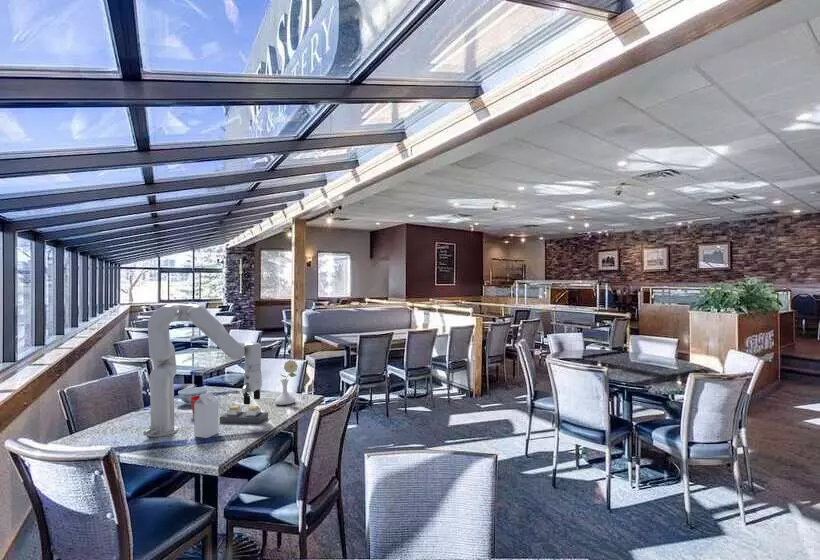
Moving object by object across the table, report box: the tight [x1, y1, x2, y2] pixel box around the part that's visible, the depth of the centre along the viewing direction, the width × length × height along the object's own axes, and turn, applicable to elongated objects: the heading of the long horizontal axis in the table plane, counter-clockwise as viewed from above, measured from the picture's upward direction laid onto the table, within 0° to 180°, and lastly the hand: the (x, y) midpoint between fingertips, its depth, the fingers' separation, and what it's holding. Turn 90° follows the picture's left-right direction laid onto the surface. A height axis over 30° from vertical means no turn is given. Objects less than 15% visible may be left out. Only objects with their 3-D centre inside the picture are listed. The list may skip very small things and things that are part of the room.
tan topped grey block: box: [226, 405, 243, 416], centre depth 213 cm, size 5×5×7 cm
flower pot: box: [190, 395, 200, 417], centre depth 222 cm, size 11×11×10 cm
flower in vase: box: [274, 359, 299, 406], centre depth 242 cm, size 13×11×25 cm
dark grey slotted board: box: [219, 411, 269, 425], centre depth 212 cm, size 9×21×3 cm, turn 82°
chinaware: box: [177, 386, 208, 406], centre depth 245 cm, size 15×15×8 cm
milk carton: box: [193, 391, 220, 439], centre depth 192 cm, size 7×7×19 cm
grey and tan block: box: [245, 405, 262, 417], centre depth 211 cm, size 5×5×7 cm
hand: (251, 401), depth 211 cm, fingers open, 9 cm apart
